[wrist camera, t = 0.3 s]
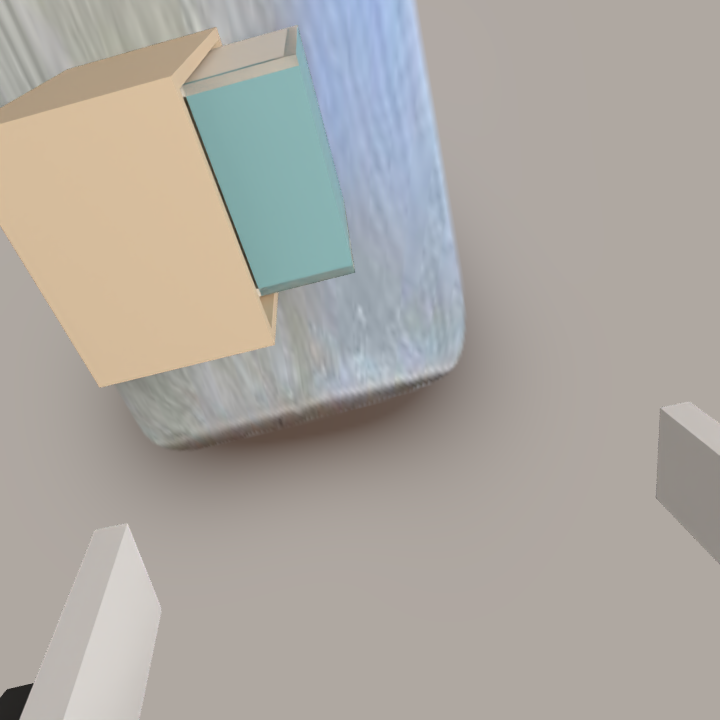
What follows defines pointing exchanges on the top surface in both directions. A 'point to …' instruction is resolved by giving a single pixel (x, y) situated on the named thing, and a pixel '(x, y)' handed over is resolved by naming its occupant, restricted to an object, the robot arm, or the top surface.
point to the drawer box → (271, 160)
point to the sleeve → (128, 216)
